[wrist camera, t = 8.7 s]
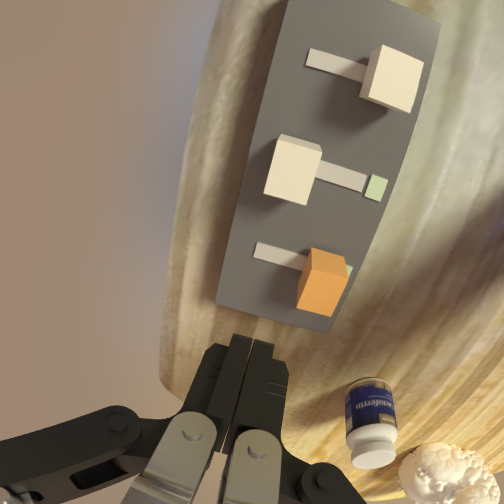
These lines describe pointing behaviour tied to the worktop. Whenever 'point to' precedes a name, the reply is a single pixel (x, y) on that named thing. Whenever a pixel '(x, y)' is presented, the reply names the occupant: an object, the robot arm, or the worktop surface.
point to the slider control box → (333, 152)
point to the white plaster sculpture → (447, 476)
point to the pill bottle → (370, 423)
